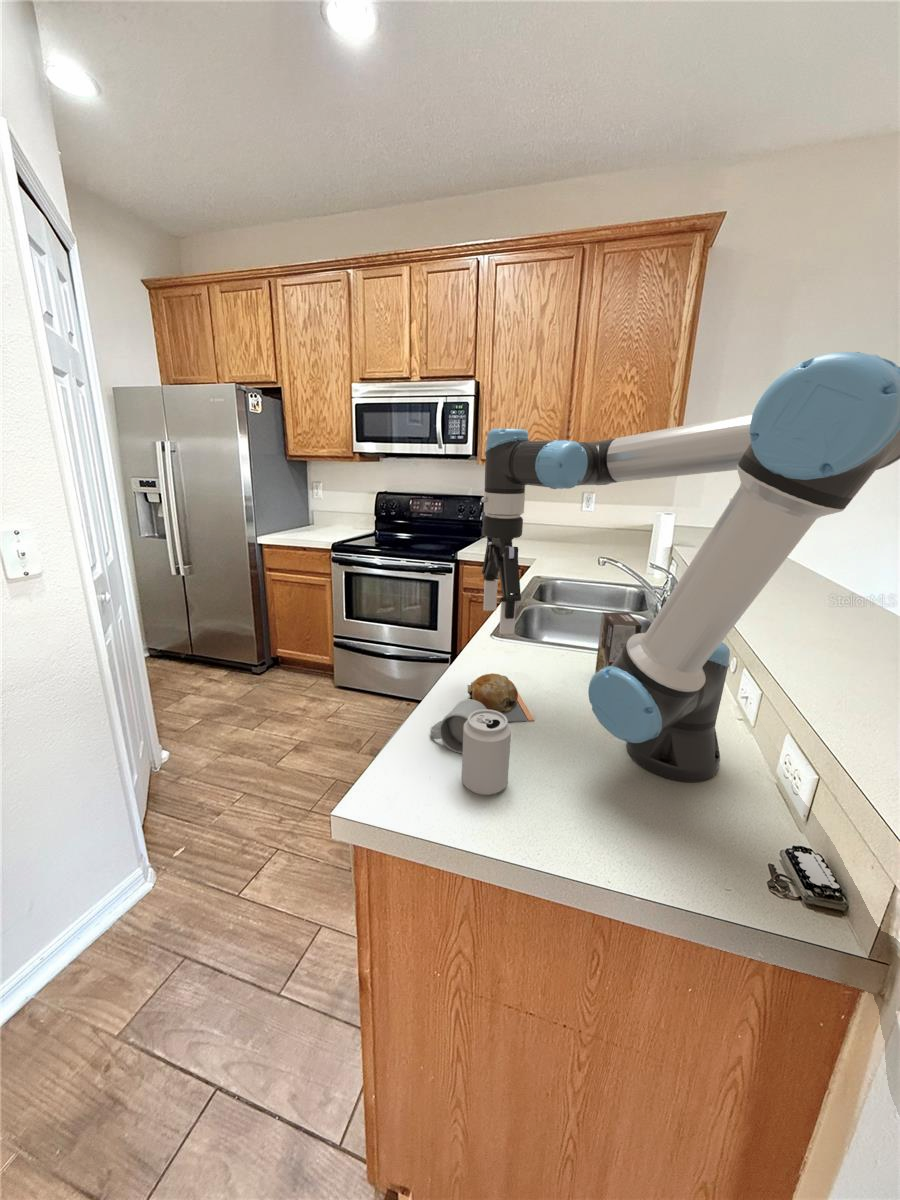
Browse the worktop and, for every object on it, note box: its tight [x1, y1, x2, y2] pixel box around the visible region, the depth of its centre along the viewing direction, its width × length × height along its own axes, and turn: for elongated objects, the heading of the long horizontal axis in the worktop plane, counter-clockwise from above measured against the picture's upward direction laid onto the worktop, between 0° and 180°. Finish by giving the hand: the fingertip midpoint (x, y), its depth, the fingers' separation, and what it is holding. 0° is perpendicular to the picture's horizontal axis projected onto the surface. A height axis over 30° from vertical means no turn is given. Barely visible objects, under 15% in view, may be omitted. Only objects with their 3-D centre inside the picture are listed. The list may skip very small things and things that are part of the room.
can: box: [461, 709, 512, 796], centre depth 77 cm, size 8×8×12 cm
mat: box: [467, 684, 535, 724], centre depth 104 cm, size 16×10×1 cm, turn 9°
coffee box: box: [594, 611, 643, 675], centre depth 111 cm, size 9×6×16 cm
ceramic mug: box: [430, 698, 487, 755], centre depth 89 cm, size 11×8×8 cm
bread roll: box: [466, 673, 519, 712], centre depth 102 cm, size 10×10×8 cm
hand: (497, 621), depth 98 cm, fingers open, 13 cm apart
